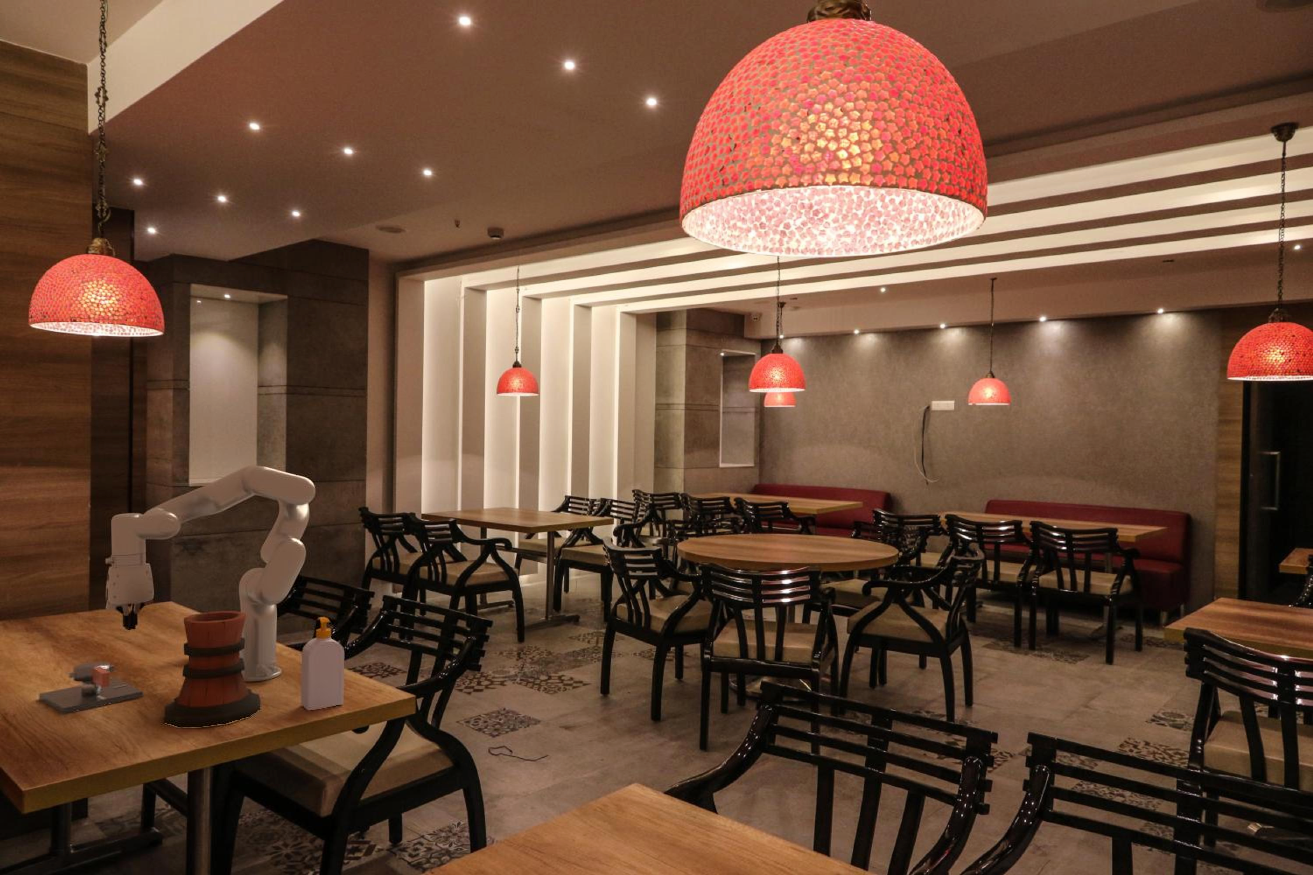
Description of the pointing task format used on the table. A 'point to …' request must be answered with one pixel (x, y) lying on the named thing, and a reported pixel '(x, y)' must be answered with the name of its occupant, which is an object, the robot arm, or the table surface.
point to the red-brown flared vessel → (213, 673)
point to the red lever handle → (92, 673)
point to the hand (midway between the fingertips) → (130, 628)
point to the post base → (89, 695)
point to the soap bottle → (322, 670)
